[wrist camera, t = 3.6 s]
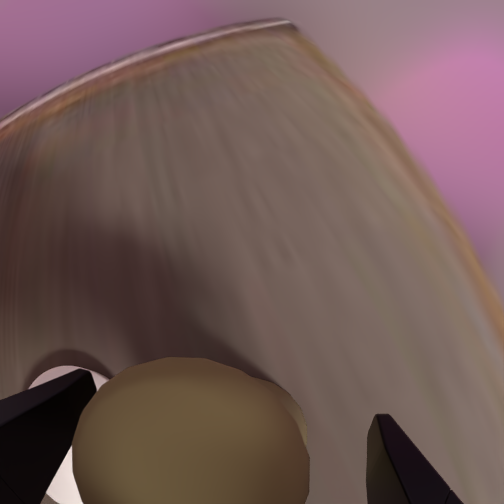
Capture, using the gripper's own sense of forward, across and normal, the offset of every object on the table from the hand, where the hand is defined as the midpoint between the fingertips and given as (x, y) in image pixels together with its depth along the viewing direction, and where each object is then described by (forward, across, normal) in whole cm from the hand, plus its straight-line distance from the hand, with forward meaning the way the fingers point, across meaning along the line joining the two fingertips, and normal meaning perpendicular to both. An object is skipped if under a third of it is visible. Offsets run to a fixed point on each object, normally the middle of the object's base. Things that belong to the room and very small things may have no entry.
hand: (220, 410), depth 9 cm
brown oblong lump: (+4, 0, +6) cm, 7 cm away
